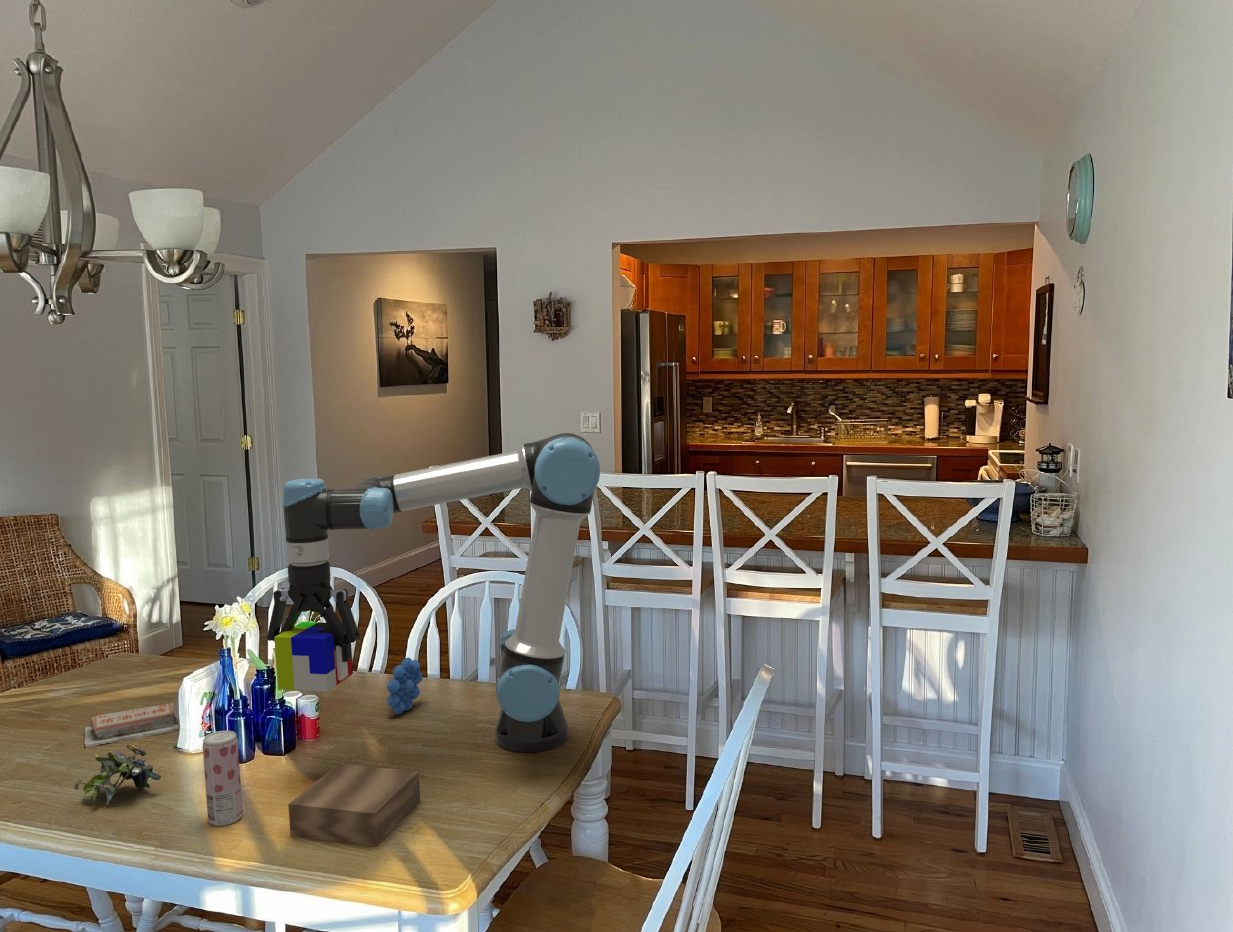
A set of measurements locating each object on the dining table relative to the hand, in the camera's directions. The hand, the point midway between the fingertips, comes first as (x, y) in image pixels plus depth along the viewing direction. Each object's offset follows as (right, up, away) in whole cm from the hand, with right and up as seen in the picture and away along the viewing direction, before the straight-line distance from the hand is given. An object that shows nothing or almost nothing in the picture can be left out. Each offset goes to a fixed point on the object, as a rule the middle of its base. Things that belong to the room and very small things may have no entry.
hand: (316, 676), depth 180 cm
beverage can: (-11, -22, -14) cm, 28 cm away
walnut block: (+12, -22, -15) cm, 29 cm away
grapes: (+9, -15, +35) cm, 39 cm away
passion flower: (-34, -21, -5) cm, 41 cm away
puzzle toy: (0, -1, 0) cm, 1 cm away
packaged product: (-48, -18, +26) cm, 58 cm away
